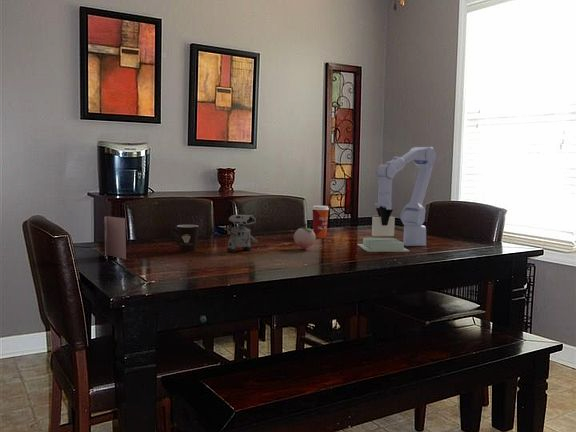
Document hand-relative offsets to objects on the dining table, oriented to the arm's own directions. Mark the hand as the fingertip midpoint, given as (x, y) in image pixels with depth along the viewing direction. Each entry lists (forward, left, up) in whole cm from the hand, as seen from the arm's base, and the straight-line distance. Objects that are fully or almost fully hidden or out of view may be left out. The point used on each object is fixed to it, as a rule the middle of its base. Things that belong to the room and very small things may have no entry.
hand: (383, 224), depth 234 cm
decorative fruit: (+34, +3, -10) cm, 36 cm away
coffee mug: (+83, +6, -10) cm, 84 cm away
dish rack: (0, 0, -10) cm, 10 cm away
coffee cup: (+22, -32, -10) cm, 40 cm away
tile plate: (0, 0, -5) cm, 5 cm away
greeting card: (+107, +23, -10) cm, 110 cm away
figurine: (+60, +9, -10) cm, 62 cm away
